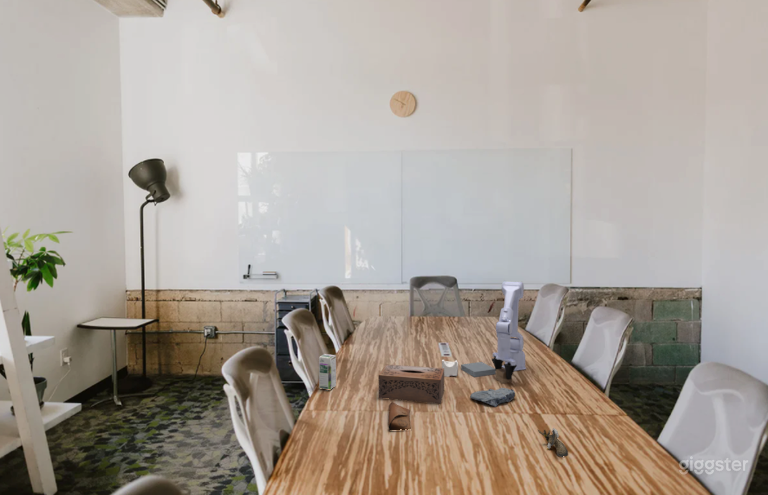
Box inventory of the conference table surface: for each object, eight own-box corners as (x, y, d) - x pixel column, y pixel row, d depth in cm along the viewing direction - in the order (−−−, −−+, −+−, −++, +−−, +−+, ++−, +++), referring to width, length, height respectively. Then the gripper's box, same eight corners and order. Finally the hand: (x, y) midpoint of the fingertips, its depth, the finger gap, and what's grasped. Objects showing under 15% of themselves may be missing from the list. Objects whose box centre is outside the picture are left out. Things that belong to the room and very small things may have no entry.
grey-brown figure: (532, 441, 134) (548, 449, 125) (541, 420, 135) (557, 427, 127) (551, 452, 134) (568, 462, 126) (559, 431, 136) (577, 440, 127)
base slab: (481, 366, 211) (481, 361, 211) (495, 374, 200) (495, 368, 200) (461, 369, 207) (461, 364, 207) (474, 377, 196) (474, 372, 196)
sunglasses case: (413, 431, 143) (403, 414, 143) (395, 441, 143) (385, 425, 143) (410, 409, 161) (401, 394, 161) (394, 418, 161) (386, 403, 161)
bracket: (456, 377, 196) (456, 361, 196) (441, 376, 198) (441, 361, 197) (458, 368, 209) (458, 354, 209) (443, 368, 210) (443, 353, 210)
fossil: (466, 398, 172) (466, 389, 172) (498, 390, 180) (498, 381, 180) (487, 410, 160) (487, 400, 160) (520, 401, 168) (520, 391, 168)
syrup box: (318, 389, 181) (318, 356, 181) (325, 384, 187) (324, 353, 186) (330, 391, 179) (330, 358, 179) (336, 386, 185) (336, 354, 185)
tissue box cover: (444, 391, 180) (444, 368, 179) (440, 404, 166) (440, 379, 165) (386, 386, 186) (386, 364, 186) (378, 398, 172) (378, 375, 172)
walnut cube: (504, 378, 194) (504, 368, 194) (511, 382, 190) (511, 371, 189) (495, 379, 192) (496, 369, 192) (502, 383, 188) (502, 372, 188)
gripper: (487, 344, 196) (487, 372, 196) (506, 352, 182) (506, 382, 183) (499, 342, 198) (499, 370, 199) (519, 350, 185) (519, 380, 185)
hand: (503, 376), depth 191 cm, fingers open, 7 cm apart
